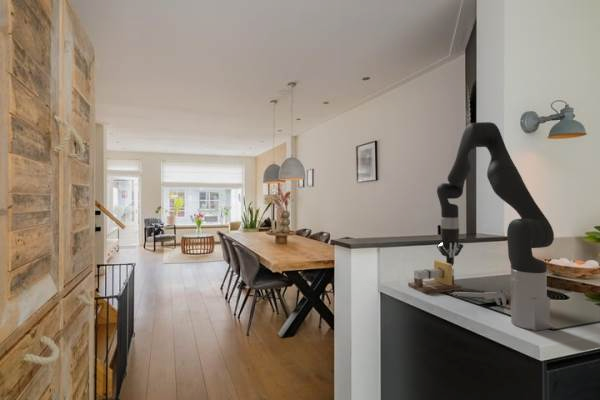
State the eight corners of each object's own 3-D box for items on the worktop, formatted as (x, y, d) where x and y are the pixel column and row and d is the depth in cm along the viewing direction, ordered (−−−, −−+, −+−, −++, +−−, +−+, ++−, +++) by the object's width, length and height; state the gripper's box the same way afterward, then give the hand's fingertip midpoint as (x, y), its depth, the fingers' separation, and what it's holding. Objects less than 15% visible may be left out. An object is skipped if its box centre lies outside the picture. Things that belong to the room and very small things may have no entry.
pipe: (454, 276, 146) (454, 268, 146) (418, 279, 142) (418, 272, 141) (449, 274, 150) (448, 267, 149) (414, 278, 145) (413, 270, 145)
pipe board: (461, 289, 142) (461, 278, 142) (425, 293, 137) (425, 282, 137) (442, 282, 154) (442, 272, 154) (408, 286, 149) (408, 275, 149)
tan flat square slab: (452, 285, 143) (452, 264, 143) (448, 285, 142) (448, 264, 142) (438, 279, 151) (437, 260, 151) (434, 280, 151) (434, 260, 151)
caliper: (506, 307, 121) (506, 290, 121) (505, 308, 120) (504, 290, 120) (451, 294, 137) (451, 279, 137) (450, 295, 136) (450, 279, 136)
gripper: (443, 228, 145) (443, 268, 146) (468, 227, 149) (468, 266, 149) (432, 227, 153) (432, 264, 153) (456, 225, 156) (456, 262, 157)
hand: (450, 265), depth 151 cm, fingers closed
